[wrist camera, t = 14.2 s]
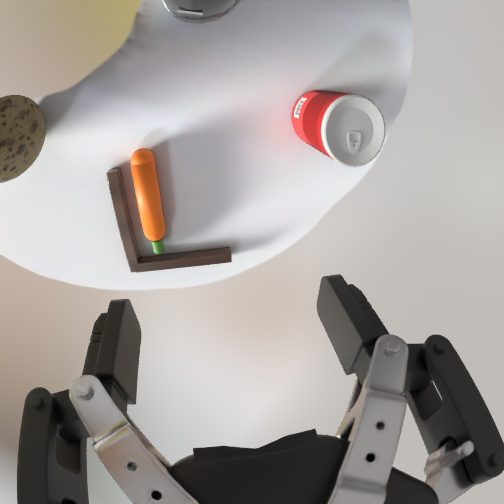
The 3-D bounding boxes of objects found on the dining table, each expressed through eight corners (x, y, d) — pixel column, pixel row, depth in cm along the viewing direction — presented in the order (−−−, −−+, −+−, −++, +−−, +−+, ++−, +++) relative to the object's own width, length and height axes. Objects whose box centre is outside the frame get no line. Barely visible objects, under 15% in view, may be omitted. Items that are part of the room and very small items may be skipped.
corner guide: (109, 169, 33) (105, 173, 31) (224, 154, 35) (226, 157, 34) (133, 266, 42) (131, 273, 40) (230, 255, 44) (231, 262, 43)
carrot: (128, 149, 32) (129, 153, 29) (152, 144, 33) (155, 148, 30) (147, 248, 40) (150, 259, 38) (167, 243, 41) (171, 253, 39)
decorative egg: (59, 83, 24) (-9, 92, 12) (63, 157, 30) (5, 202, 18) (3, 101, 22) (-65, 123, 10) (10, 168, 28) (-50, 213, 16)
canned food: (298, 151, 37) (332, 176, 28) (281, 97, 32) (314, 103, 23) (346, 136, 36) (390, 157, 27) (333, 84, 32) (378, 89, 23)
